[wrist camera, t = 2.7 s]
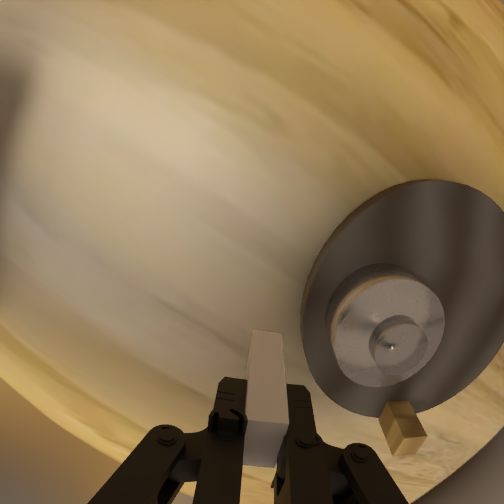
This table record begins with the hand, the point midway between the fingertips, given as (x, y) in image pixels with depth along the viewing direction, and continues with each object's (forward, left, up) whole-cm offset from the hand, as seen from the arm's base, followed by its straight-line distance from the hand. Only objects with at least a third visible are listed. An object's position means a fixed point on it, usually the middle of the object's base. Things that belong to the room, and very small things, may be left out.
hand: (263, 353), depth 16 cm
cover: (+9, 0, -7) cm, 11 cm away
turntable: (+14, 0, -9) cm, 17 cm away
